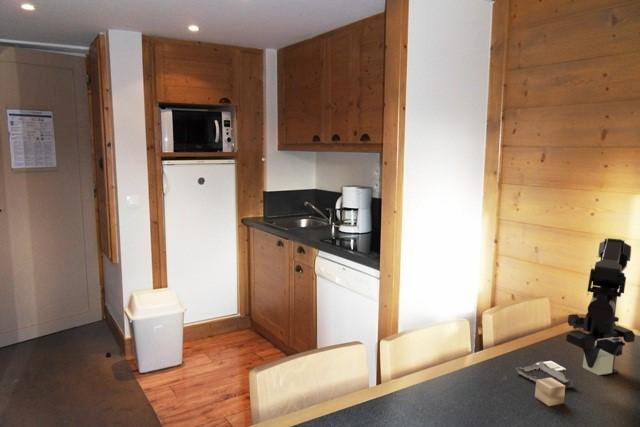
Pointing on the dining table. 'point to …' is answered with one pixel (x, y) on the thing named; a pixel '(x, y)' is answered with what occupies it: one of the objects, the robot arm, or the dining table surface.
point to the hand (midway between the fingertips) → (597, 366)
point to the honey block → (550, 391)
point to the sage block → (601, 363)
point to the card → (553, 365)
